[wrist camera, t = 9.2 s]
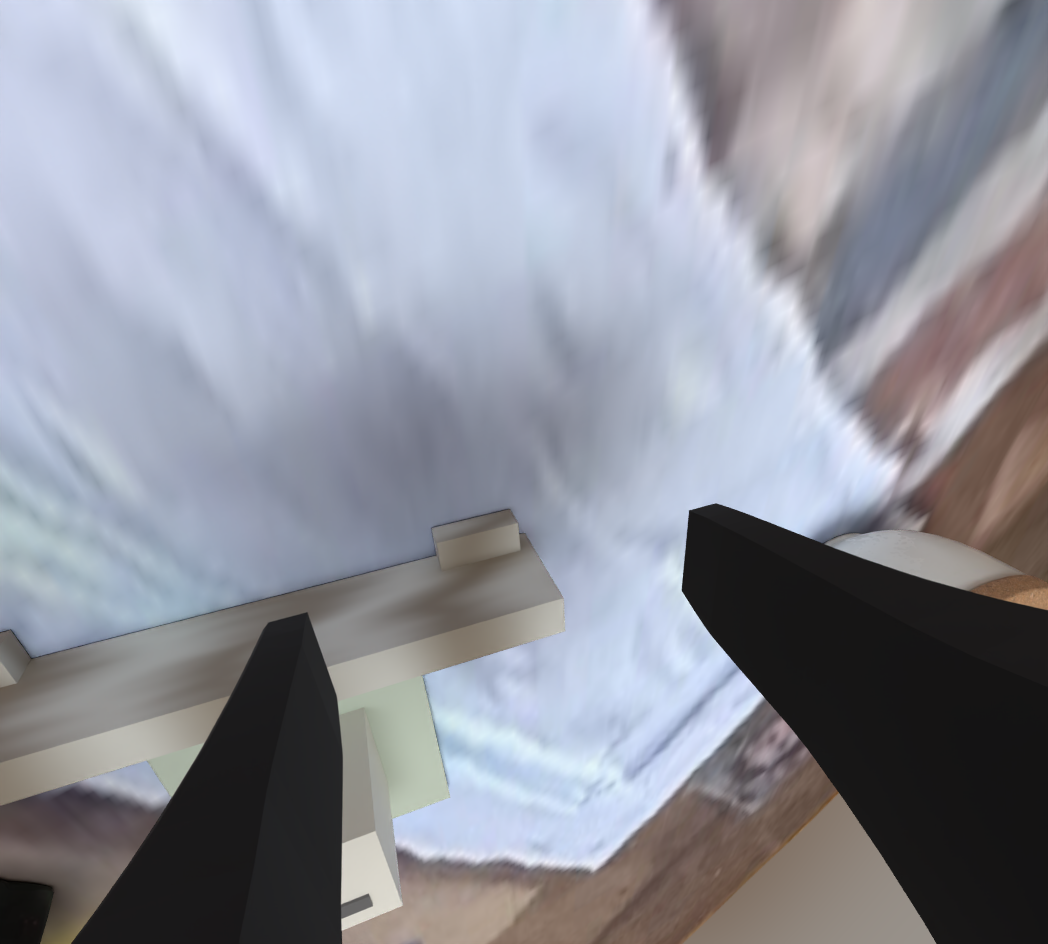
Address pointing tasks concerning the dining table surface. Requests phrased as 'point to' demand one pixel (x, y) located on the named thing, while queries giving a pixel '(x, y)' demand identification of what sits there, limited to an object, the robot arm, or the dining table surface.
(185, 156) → the dining table surface
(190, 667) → the beige wooden bar
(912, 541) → the lidded jar
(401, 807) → the pad
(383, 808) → the marked cube
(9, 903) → the ceramic cat
